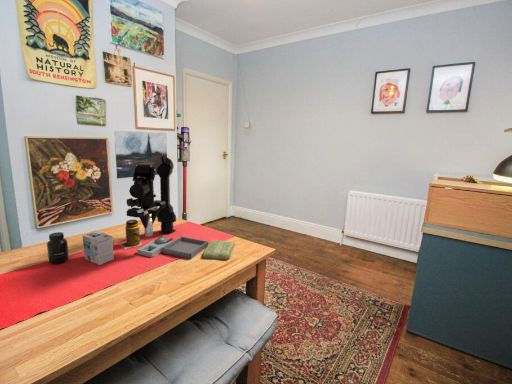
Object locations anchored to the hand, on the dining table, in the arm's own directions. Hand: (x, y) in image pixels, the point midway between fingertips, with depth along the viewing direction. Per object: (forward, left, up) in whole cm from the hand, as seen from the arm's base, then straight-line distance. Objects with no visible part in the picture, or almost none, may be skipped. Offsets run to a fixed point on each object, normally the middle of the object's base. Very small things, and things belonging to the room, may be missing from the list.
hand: (148, 226), depth 120 cm
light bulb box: (+13, -15, -13) cm, 24 cm away
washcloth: (-15, +28, -13) cm, 34 cm away
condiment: (-4, -14, -13) cm, 19 cm away
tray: (-10, +13, -13) cm, 20 cm away
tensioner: (-5, 0, -13) cm, 13 cm away
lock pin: (0, 0, -4) cm, 4 cm away
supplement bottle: (+21, -28, -13) cm, 37 cm away
